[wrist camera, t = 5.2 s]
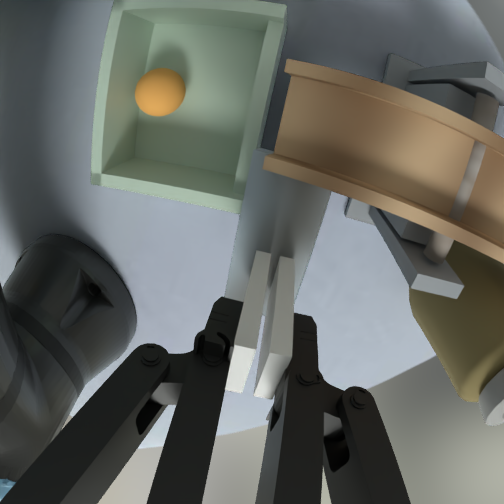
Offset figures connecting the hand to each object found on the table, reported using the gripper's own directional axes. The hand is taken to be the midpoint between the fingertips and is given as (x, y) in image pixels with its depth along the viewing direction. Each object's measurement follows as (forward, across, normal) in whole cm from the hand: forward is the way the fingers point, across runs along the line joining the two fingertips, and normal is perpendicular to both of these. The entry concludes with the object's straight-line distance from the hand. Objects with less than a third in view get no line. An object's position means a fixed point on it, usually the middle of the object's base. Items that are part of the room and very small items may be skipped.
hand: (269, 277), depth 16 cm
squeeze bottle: (+7, +14, 0) cm, 16 cm away
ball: (+5, -9, +8) cm, 13 cm away
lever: (+2, +8, +5) cm, 9 cm away
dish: (+7, -7, +8) cm, 13 cm away
